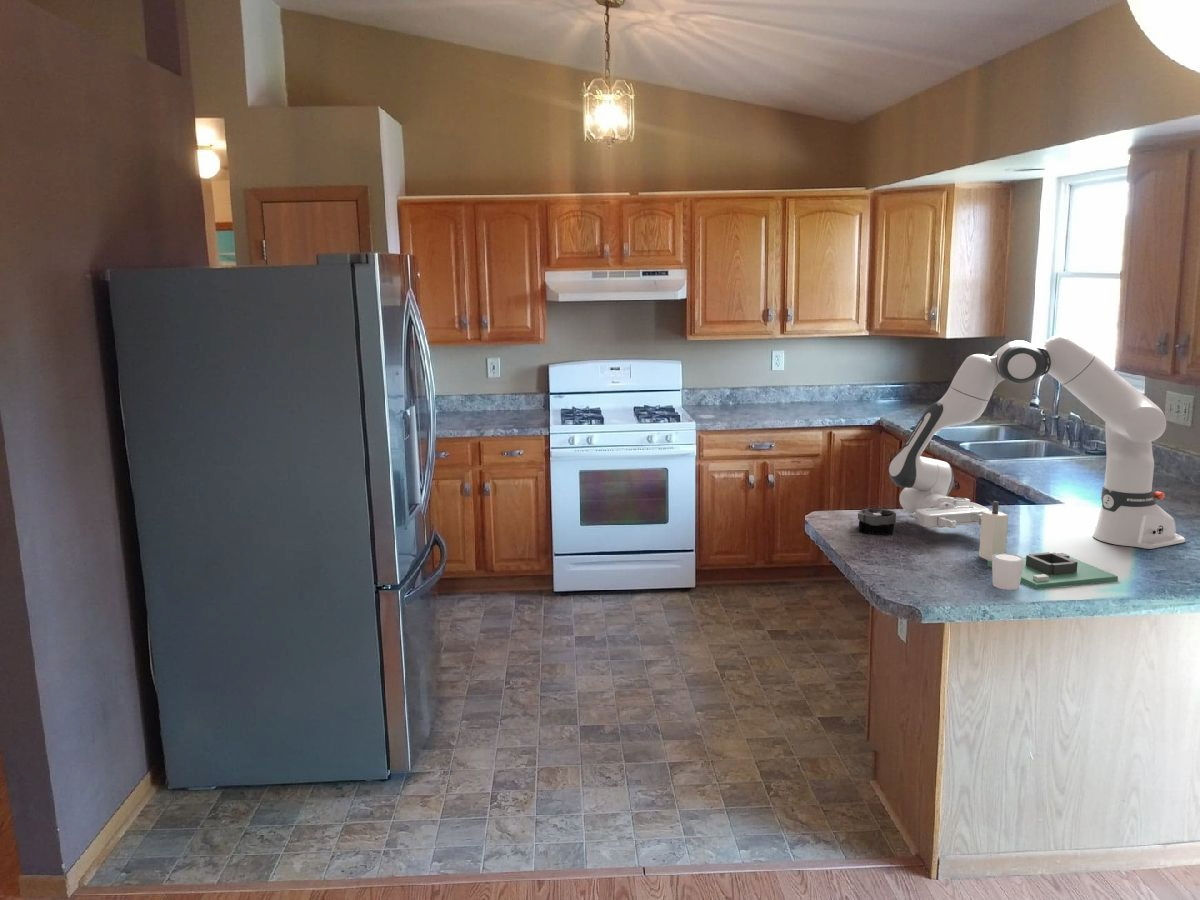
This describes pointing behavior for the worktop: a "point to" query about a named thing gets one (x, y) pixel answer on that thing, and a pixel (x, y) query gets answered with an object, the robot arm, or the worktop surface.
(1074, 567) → the circuit board
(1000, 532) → the plug
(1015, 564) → the white cup
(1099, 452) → the worktop surface
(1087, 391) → the robot arm
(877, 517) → the cpu cooler
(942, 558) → the worktop surface
